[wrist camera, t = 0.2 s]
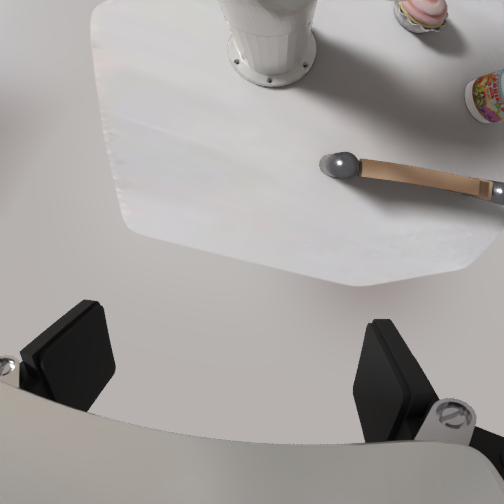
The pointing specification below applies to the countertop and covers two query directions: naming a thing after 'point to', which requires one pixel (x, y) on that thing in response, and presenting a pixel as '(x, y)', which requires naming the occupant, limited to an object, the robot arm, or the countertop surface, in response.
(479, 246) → the countertop surface
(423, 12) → the cupcake
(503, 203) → the post
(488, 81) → the milk bottle
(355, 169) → the hinge post
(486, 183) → the walnut gate
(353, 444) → the robot arm
